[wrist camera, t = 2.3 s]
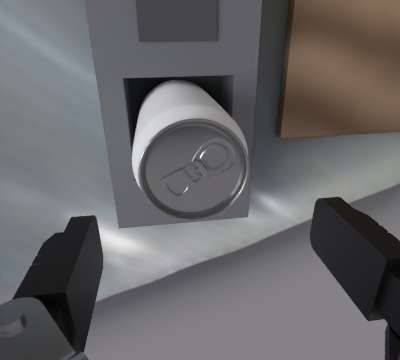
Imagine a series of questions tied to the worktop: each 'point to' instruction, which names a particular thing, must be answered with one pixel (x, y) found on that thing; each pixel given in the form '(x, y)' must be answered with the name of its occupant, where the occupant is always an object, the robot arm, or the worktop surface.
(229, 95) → the grey block with hole
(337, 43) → the walnut board
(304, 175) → the worktop surface
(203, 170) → the can
